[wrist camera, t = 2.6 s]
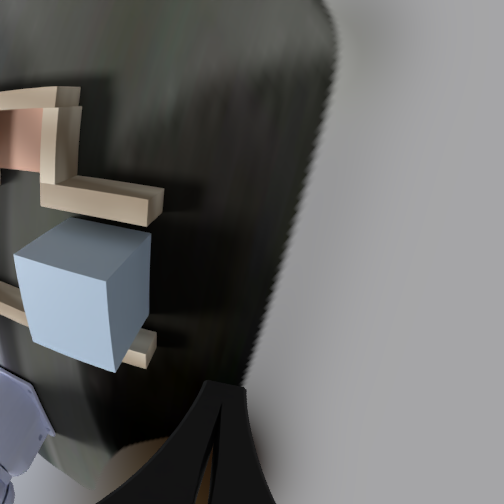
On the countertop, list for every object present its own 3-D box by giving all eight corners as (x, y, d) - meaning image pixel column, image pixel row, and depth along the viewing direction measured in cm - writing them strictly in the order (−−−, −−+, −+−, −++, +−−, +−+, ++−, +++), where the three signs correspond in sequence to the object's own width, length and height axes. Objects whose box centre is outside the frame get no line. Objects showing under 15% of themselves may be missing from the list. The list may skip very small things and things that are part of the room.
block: (149, 313, 17) (115, 372, 13) (77, 292, 17) (33, 341, 13) (151, 232, 15) (105, 281, 11) (71, 216, 15) (13, 254, 11)
